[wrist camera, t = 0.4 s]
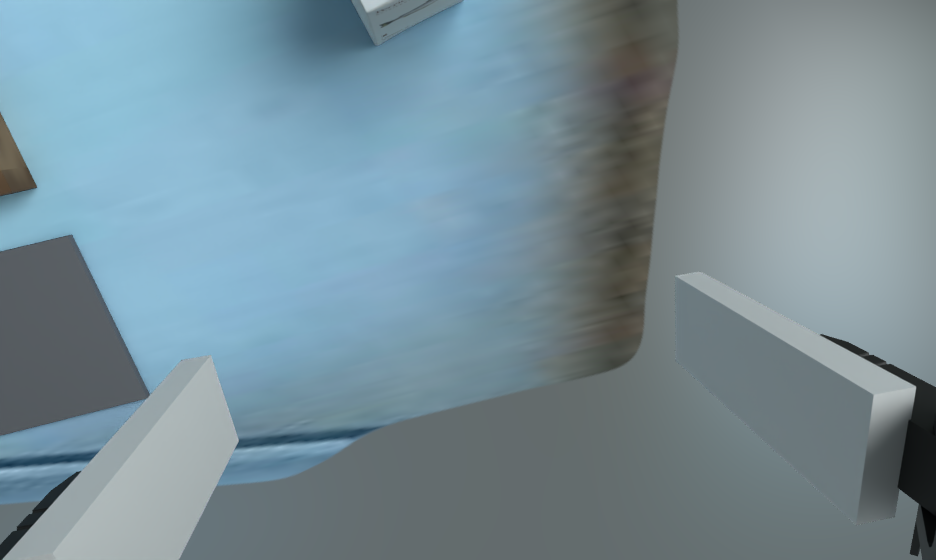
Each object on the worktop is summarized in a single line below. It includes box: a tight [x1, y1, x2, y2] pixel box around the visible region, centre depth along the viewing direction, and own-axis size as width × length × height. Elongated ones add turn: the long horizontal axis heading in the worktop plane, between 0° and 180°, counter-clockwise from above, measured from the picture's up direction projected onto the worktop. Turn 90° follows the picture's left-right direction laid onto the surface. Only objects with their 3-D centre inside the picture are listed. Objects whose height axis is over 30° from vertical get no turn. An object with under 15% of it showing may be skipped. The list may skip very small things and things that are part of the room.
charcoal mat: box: [0, 235, 149, 435], centre depth 40 cm, size 14×14×1 cm
